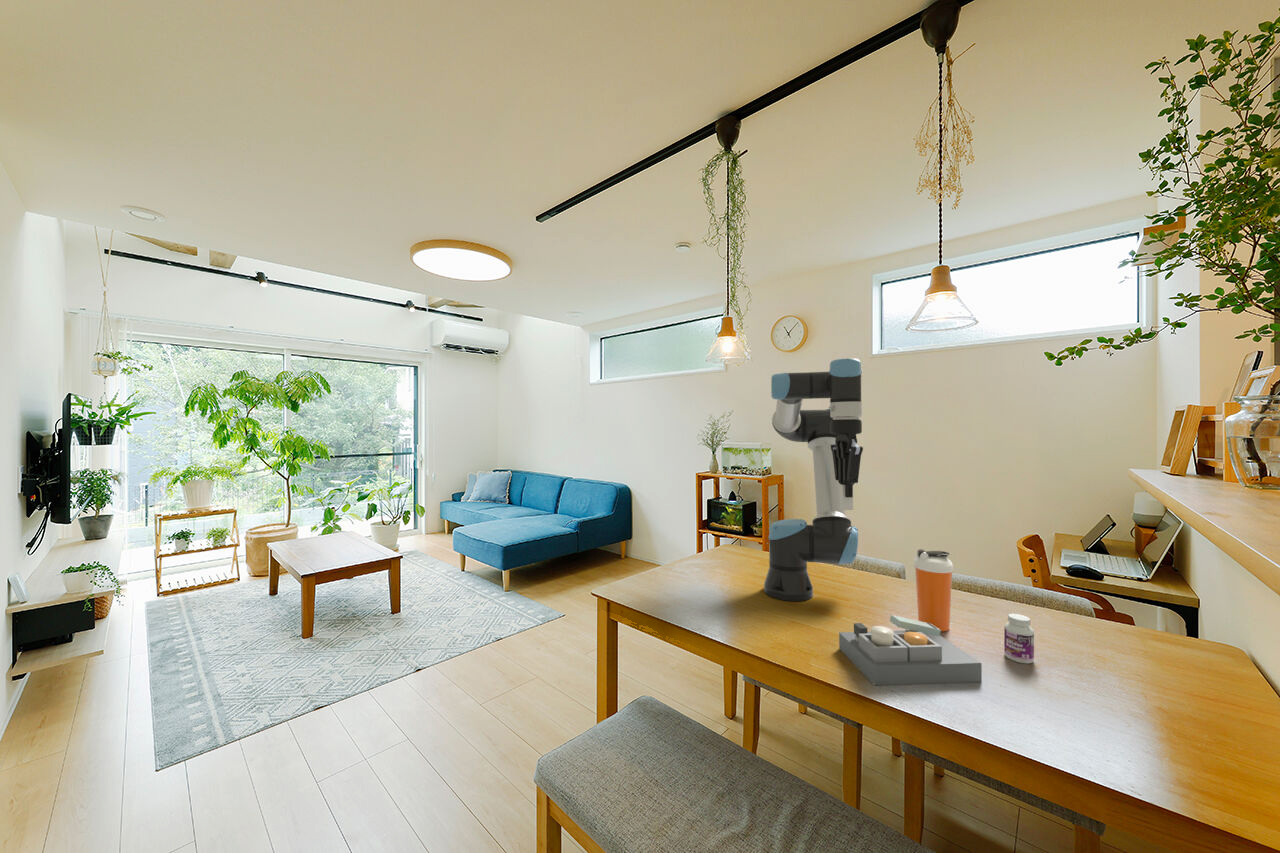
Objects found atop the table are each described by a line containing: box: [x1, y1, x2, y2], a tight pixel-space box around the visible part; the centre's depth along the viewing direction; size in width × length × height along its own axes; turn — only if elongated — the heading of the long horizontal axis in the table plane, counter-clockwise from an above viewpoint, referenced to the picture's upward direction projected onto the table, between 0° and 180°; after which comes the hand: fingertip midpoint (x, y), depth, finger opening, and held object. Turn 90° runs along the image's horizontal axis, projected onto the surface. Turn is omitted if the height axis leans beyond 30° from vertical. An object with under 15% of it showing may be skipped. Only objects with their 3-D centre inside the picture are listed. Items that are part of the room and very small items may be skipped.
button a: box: [870, 625, 894, 646], centre depth 103 cm, size 4×4×3 cm
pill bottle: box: [1003, 613, 1035, 664], centre depth 108 cm, size 5×5×10 cm
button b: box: [904, 632, 927, 645], centre depth 103 cm, size 4×4×3 cm
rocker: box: [889, 614, 942, 636], centre depth 110 cm, size 4×10×2 cm, turn 92°
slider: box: [853, 622, 869, 637], centre depth 110 cm, size 3×2×2 cm, turn 2°
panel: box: [838, 629, 983, 686], centre depth 106 cm, size 16×23×7 cm
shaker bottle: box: [913, 549, 954, 632], centre depth 126 cm, size 9×9×20 cm
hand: (846, 509), depth 122 cm, fingers closed
